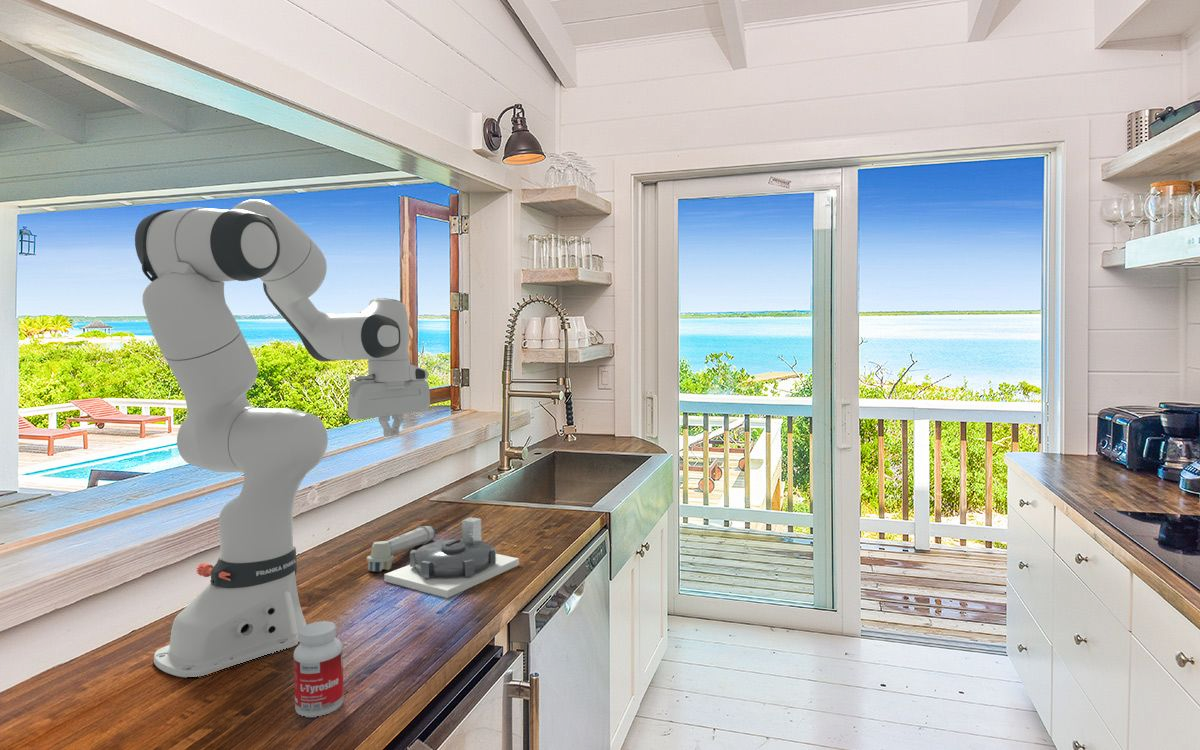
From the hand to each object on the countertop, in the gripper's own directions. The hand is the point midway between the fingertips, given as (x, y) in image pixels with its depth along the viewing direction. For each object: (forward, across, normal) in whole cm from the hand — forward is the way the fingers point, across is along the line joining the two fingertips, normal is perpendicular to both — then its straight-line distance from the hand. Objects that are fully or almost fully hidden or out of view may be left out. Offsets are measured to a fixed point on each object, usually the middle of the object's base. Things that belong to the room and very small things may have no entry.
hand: (391, 435), depth 148 cm
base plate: (+29, +3, -15) cm, 33 cm away
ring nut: (+27, +2, -15) cm, 31 cm away
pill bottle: (+29, -45, -37) cm, 65 cm away
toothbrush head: (+30, +6, +4) cm, 30 cm away
